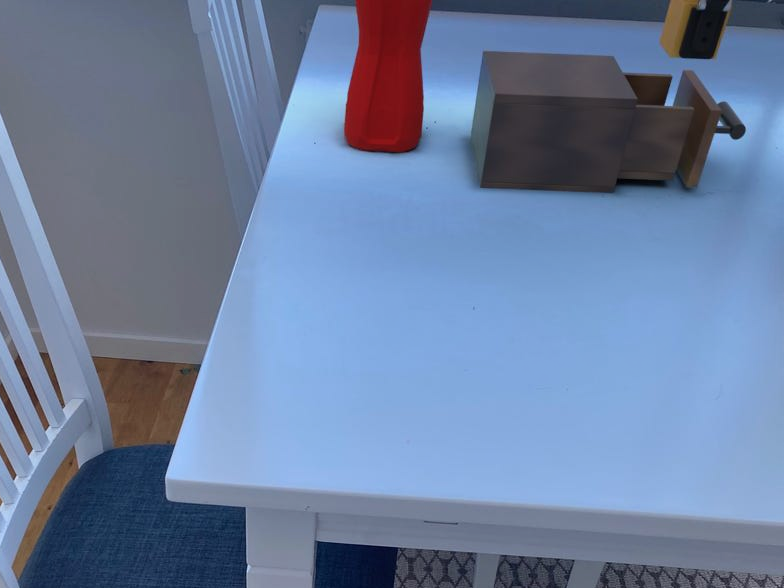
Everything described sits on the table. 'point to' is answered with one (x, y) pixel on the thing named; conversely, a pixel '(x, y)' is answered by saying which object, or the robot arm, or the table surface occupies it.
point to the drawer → (673, 128)
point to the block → (681, 26)
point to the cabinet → (550, 121)
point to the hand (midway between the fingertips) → (688, 46)
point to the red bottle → (387, 76)
